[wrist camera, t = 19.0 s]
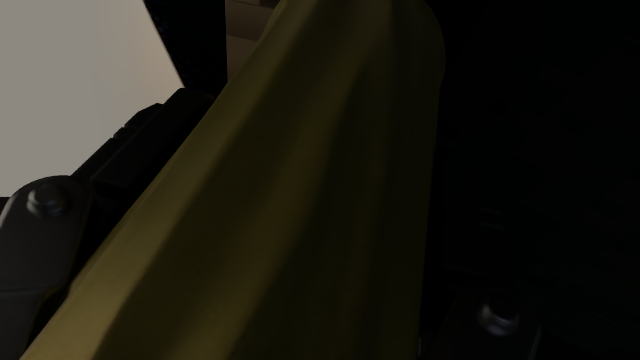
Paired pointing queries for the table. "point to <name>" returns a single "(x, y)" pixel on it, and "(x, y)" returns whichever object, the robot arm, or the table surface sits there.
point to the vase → (280, 206)
